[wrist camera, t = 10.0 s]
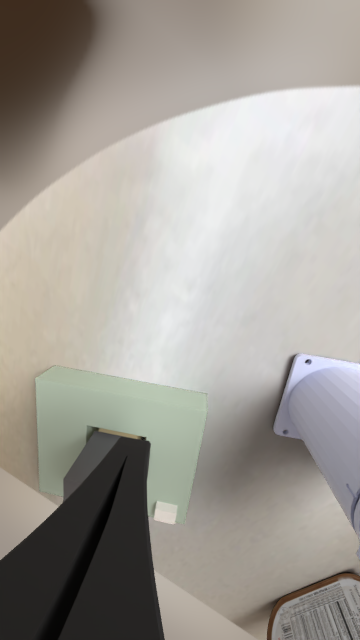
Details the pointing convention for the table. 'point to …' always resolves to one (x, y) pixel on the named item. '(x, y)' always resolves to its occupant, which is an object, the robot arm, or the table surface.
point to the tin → (319, 611)
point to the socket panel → (123, 416)
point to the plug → (91, 458)
